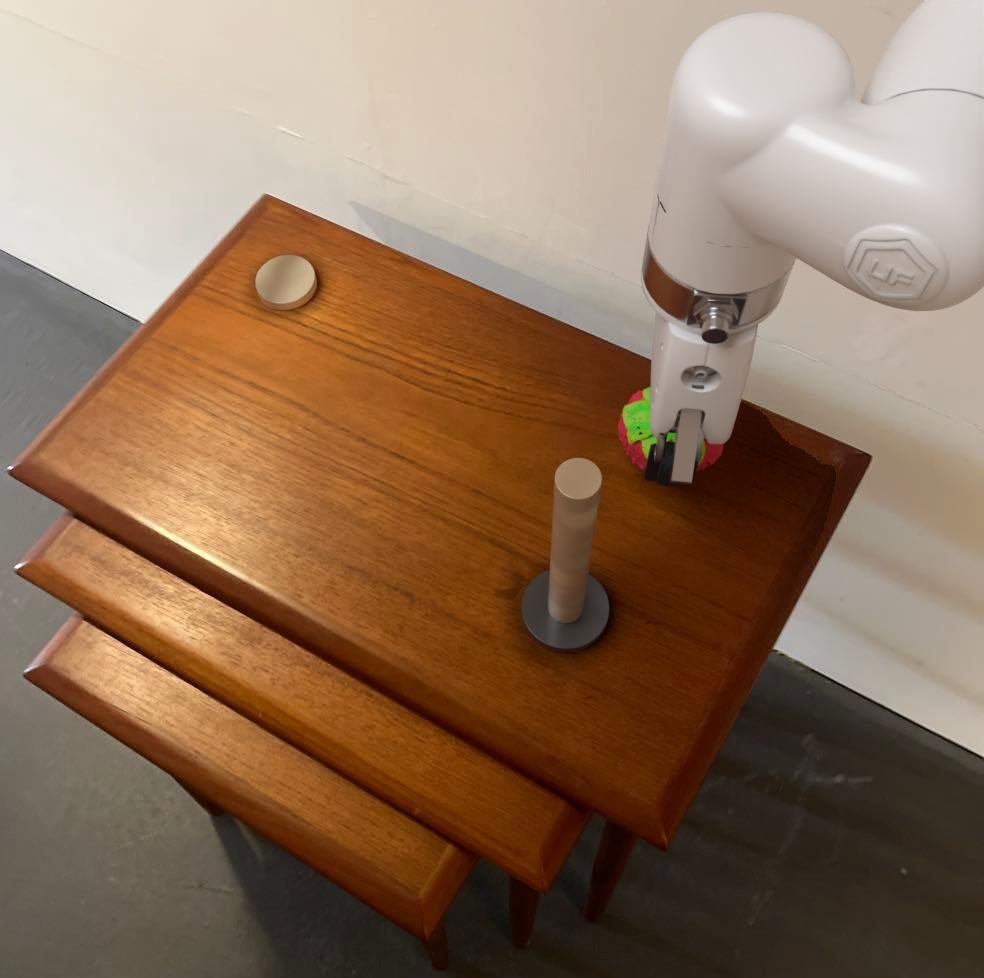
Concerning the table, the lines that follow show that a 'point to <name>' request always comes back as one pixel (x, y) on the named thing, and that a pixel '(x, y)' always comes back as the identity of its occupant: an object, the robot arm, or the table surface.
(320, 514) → the table surface
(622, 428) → the strawberry
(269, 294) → the puck
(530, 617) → the post
